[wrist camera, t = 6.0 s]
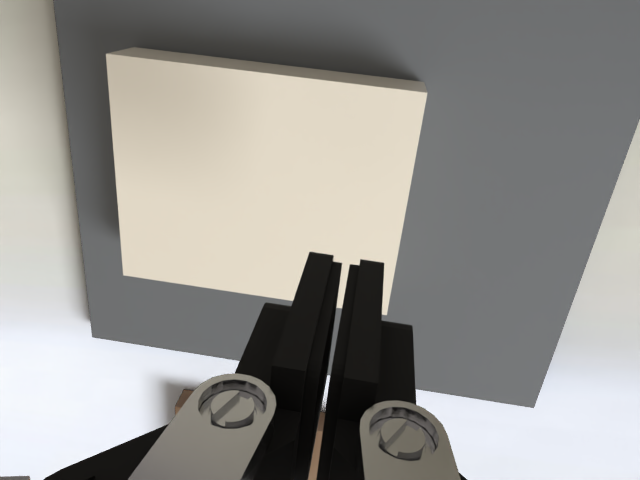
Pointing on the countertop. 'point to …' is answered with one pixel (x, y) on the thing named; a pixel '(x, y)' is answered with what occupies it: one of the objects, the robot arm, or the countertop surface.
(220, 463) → the robot arm
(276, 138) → the tile
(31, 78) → the countertop surface
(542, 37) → the mat
